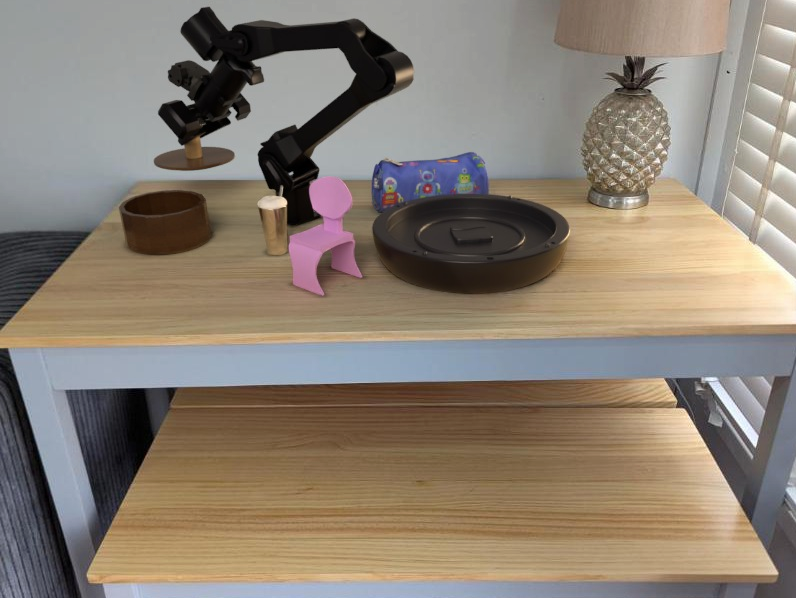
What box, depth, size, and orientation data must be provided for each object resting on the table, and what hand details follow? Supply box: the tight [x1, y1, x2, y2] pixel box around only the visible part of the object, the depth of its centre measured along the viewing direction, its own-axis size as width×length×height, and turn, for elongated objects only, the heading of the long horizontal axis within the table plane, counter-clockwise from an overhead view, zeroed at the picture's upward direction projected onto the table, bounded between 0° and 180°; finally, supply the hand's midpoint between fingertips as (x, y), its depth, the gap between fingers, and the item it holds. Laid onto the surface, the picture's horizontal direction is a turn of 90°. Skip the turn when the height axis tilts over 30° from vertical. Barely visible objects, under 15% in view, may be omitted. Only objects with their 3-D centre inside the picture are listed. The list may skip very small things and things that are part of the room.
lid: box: [153, 136, 236, 172], centre depth 142 cm, size 15×15×7 cm
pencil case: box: [370, 151, 490, 213], centre depth 140 cm, size 22×9×10 cm, turn 104°
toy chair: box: [288, 175, 364, 296], centre depth 110 cm, size 8×9×15 cm
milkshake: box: [257, 185, 288, 256], centre depth 123 cm, size 5×5×10 cm
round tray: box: [371, 193, 571, 294], centre depth 120 cm, size 30×6×30 cm
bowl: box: [118, 189, 212, 256], centre depth 129 cm, size 14×14×6 cm
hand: (186, 141), depth 142 cm, fingers closed on lid, 3 cm apart
